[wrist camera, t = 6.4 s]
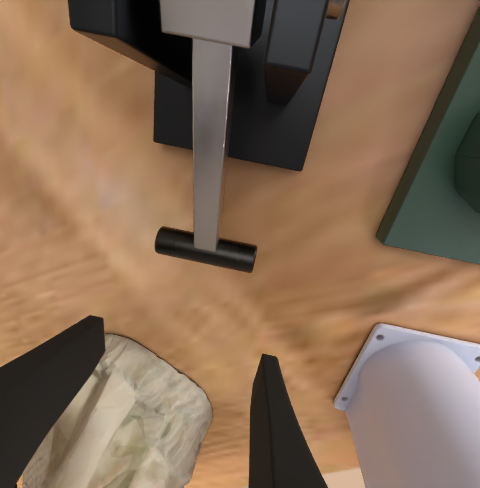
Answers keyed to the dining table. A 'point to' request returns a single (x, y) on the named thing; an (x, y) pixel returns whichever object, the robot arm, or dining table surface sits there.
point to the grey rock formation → (125, 426)
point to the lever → (211, 120)
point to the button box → (444, 170)
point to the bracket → (247, 72)
